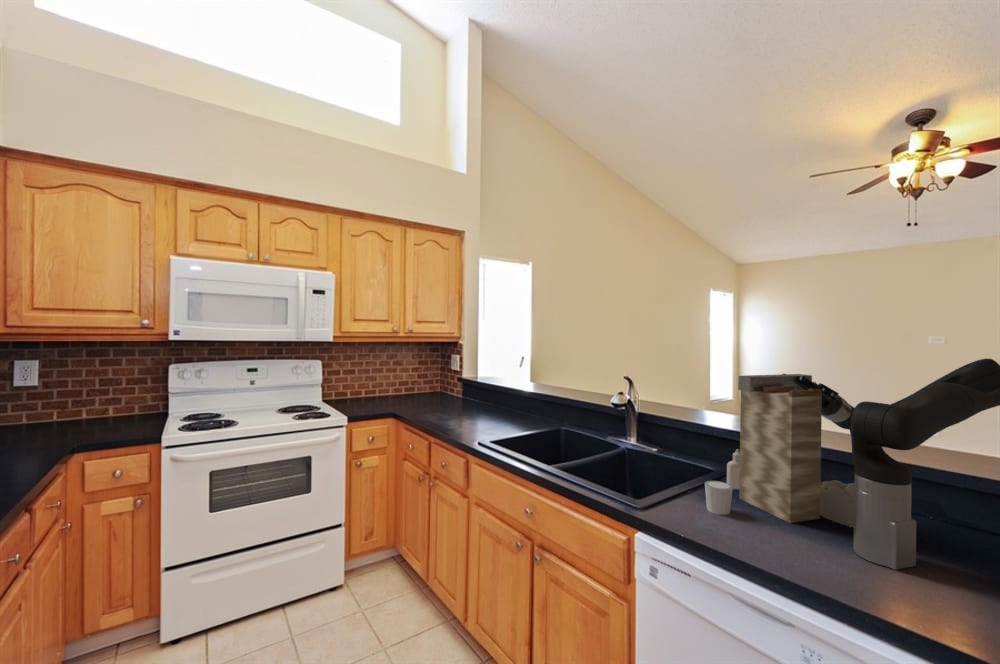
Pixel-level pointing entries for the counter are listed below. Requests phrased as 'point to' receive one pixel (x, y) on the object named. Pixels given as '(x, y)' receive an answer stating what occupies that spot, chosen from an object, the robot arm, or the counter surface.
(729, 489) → the white tapered cup
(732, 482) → the eye dropper bottle
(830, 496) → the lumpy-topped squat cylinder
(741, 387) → the metal bar
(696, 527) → the counter surface
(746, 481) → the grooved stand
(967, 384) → the robot arm
